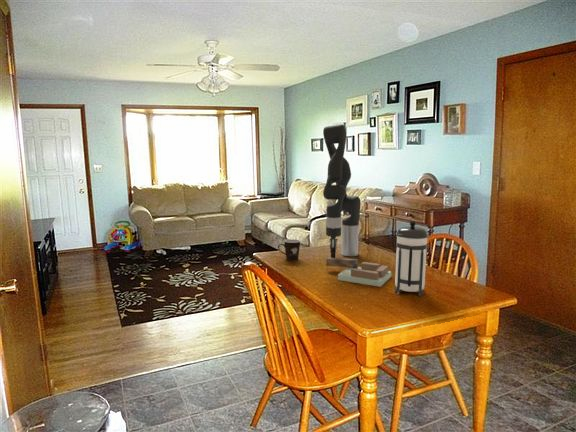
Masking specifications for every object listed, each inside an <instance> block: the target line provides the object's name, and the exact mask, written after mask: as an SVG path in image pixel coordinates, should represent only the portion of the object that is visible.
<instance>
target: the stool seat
mask: <svg viewBox="0 0 576 432" xmlns="http://www.w3.org/2000/svg"><path fill="white" fill-rule="evenodd" d="M391 277H392V271H391V270H389V265H385V264H383V265H381V264H380V263H376V262H375V263H373V262H367V261H363V262H361V265H360V266H358V267H357V268H352V267H346V268H345V269H344V270H343V271H341V272H340V273H337V281H343V282H348V283H349V282H350V283H355V284H361V285H366V286H373V287H383V285H384V284H385V283H386V282H387V281H388V280H390V278H391Z"/></svg>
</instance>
